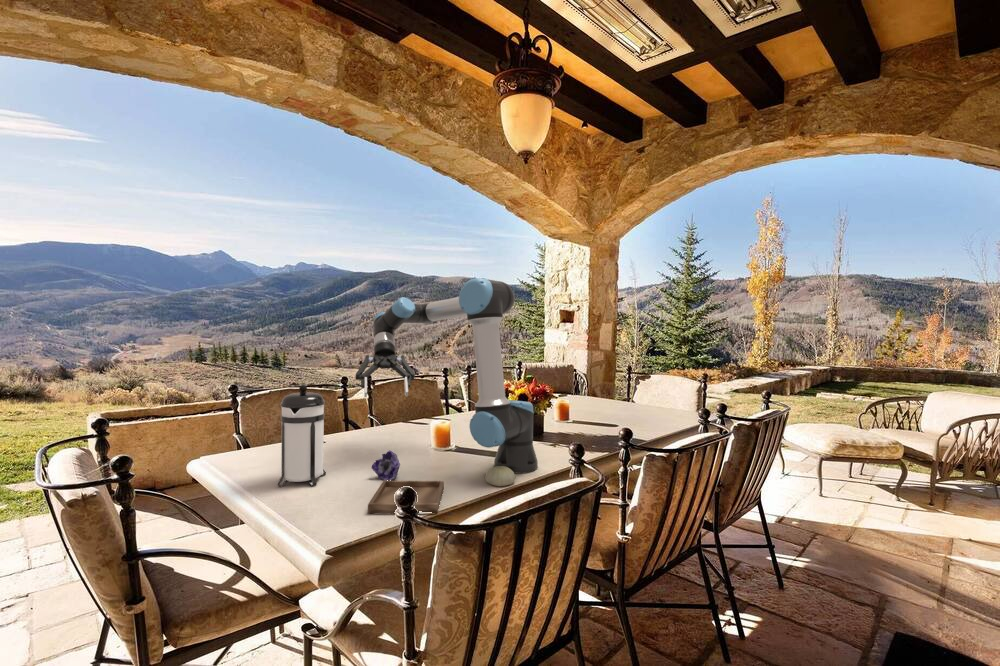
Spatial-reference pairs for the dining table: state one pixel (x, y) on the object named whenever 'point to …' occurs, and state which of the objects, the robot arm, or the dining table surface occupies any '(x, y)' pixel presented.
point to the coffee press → (302, 437)
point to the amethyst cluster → (387, 466)
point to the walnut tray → (425, 490)
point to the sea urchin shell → (500, 476)
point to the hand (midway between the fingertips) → (386, 394)
